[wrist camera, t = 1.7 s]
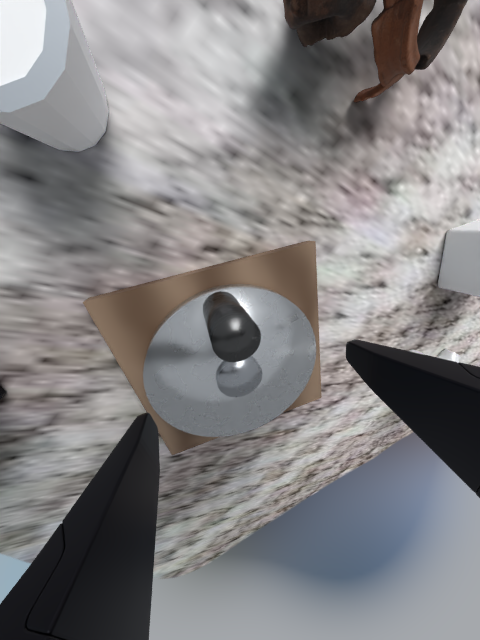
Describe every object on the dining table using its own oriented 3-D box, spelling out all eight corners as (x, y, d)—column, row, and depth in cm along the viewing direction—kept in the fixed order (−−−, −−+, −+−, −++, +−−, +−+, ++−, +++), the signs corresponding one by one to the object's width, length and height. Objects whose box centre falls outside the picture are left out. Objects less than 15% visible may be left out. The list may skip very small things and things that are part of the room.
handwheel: (180, 445, 24) (180, 519, 18) (111, 315, 17) (70, 367, 10) (311, 395, 27) (351, 445, 20) (303, 262, 19) (362, 278, 13)
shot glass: (137, 155, 14) (104, 100, 8) (27, 171, 13) (-105, 122, 7) (87, 1, 11) (-24, -268, 5) (-60, 7, 10) (-416, -322, 4)
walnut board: (172, 445, 26) (172, 455, 25) (88, 297, 17) (82, 302, 16) (316, 391, 29) (321, 397, 28) (308, 240, 20) (315, 241, 19)
